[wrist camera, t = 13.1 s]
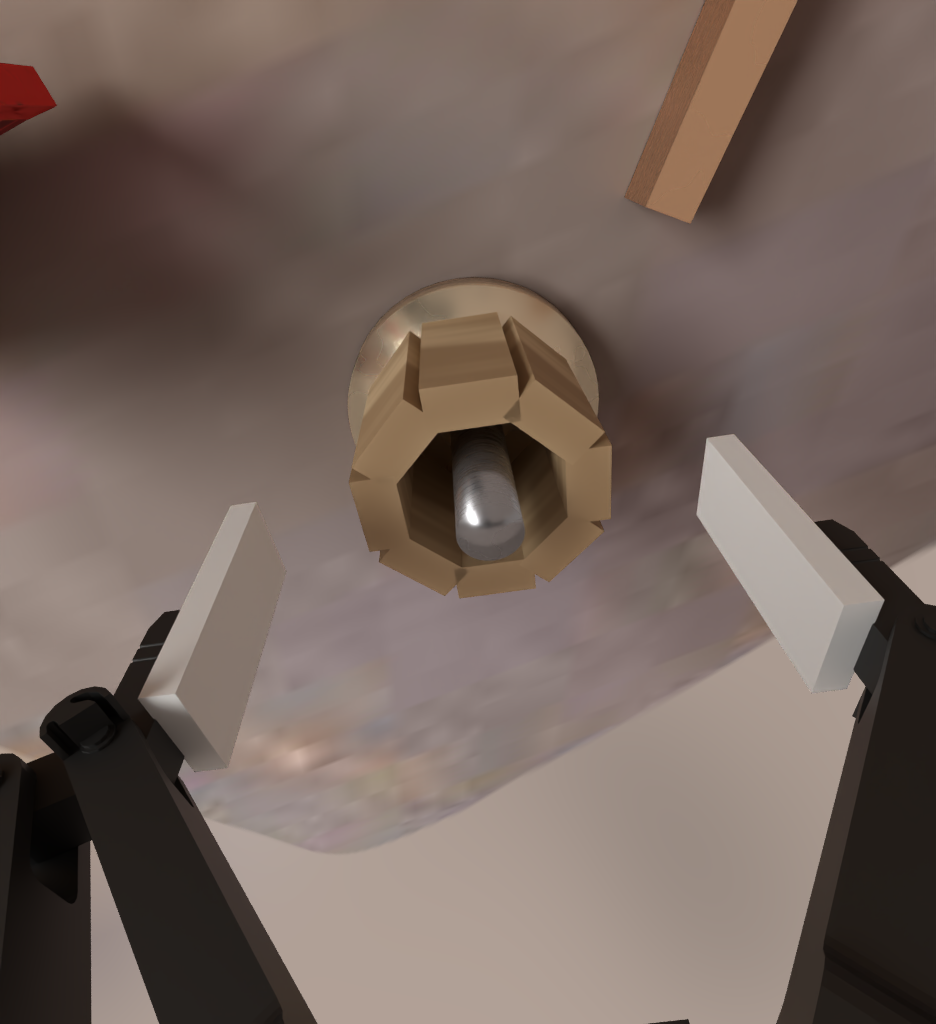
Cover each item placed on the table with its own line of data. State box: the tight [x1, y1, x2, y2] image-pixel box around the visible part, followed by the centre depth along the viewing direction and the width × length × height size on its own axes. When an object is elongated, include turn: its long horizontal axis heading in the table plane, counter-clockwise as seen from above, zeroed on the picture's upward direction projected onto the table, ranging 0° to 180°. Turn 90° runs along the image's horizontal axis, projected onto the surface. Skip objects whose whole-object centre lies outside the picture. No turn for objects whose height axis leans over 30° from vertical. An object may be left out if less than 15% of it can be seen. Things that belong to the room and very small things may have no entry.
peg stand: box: [348, 277, 599, 561], centre depth 20 cm, size 10×10×9 cm
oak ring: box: [349, 312, 612, 598], centre depth 20 cm, size 8×8×6 cm
